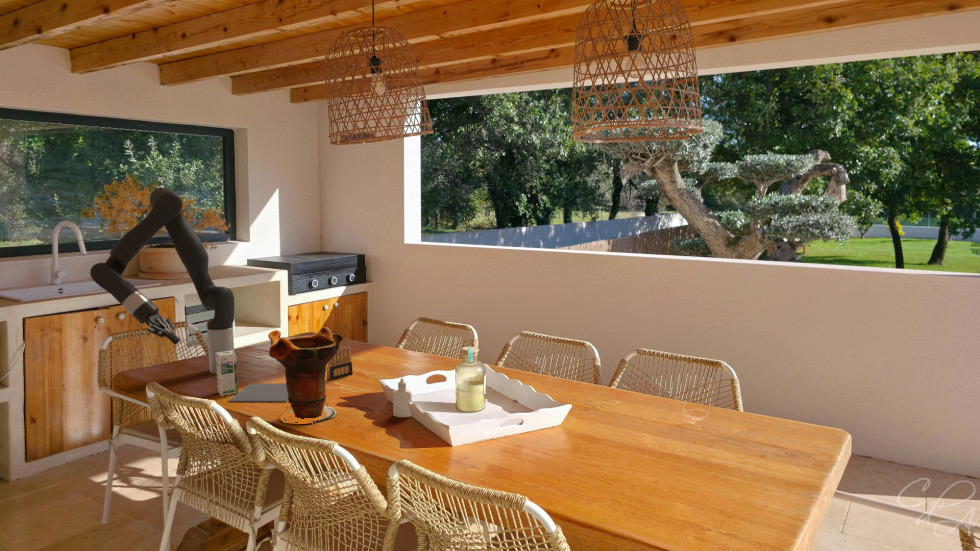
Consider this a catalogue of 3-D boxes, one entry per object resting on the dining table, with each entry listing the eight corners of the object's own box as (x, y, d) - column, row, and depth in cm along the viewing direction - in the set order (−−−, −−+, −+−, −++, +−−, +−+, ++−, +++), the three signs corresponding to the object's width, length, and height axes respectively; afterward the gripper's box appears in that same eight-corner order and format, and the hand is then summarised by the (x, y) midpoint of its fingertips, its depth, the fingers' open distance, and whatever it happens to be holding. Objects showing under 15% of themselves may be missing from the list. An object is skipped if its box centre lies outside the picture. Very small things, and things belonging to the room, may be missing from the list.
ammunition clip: (330, 380, 250) (329, 349, 249) (327, 380, 251) (325, 348, 250) (352, 374, 258) (351, 343, 257) (349, 373, 260) (348, 343, 258)
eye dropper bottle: (400, 412, 215) (399, 375, 213) (414, 415, 212) (413, 378, 210) (391, 416, 211) (390, 378, 210) (404, 419, 208) (403, 381, 207)
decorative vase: (360, 412, 213) (353, 326, 209) (293, 434, 198) (284, 341, 193) (325, 398, 228) (318, 317, 224) (261, 418, 213) (252, 331, 208)
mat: (250, 384, 246) (250, 383, 246) (303, 384, 245) (303, 383, 245) (228, 402, 226) (228, 400, 226) (286, 402, 225) (286, 400, 225)
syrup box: (221, 396, 232) (218, 355, 230) (217, 392, 237) (215, 351, 235) (238, 393, 235) (236, 352, 233) (234, 389, 240) (232, 349, 238)
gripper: (137, 302, 226) (176, 339, 227) (157, 296, 239) (194, 330, 240) (122, 318, 226) (161, 354, 228) (143, 311, 239) (180, 345, 241)
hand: (178, 342), depth 234 cm, fingers closed
